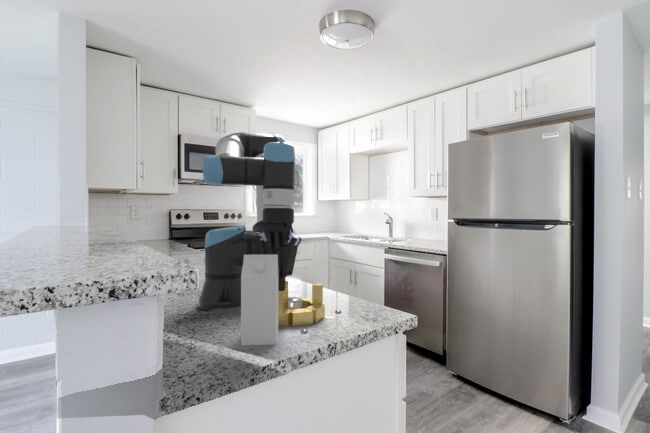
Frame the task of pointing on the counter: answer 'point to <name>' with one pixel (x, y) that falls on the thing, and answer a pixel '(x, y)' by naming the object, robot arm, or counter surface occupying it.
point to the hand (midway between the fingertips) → (277, 304)
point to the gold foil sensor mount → (310, 308)
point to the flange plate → (297, 304)
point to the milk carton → (259, 300)
